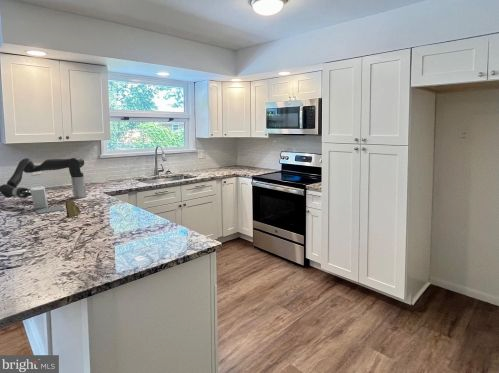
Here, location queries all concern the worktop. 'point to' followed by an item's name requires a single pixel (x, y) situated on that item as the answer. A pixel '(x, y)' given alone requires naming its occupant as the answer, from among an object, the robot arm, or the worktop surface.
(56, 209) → the mat
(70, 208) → the rock
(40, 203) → the skincare box
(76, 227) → the worktop surface
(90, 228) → the worktop surface
